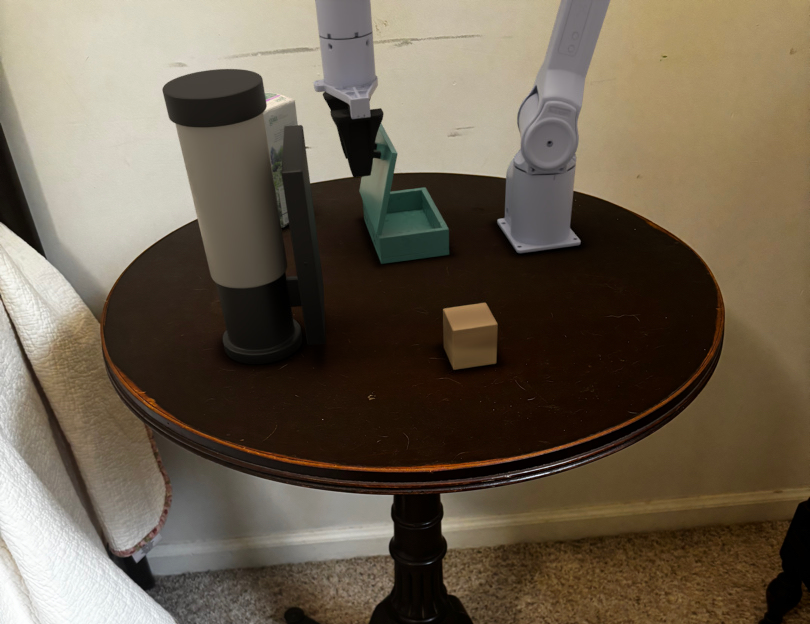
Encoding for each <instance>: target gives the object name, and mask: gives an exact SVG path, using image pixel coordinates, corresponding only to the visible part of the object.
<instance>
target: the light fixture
mask: <svg viewBox="0 0 810 624" xmlns="http://www.w3.org/2000/svg"><path fill="white" fill-rule="evenodd" d="M265 92H266V91H265V85H264V78H263V76H262V75H261V74H260V73H258V72H256V71H253V70H247V69H242V68H220V69H219V68H218V69H209V70H202V71H196V72H192V73H187V74H184V75H180V76H178V77H176V78H173V79H171V80H169V81H168V82H166V83H164V85H163V87H162V95H163V99H164V104H165V107H166V112H167V115H168V120H169V121H170V122H172V123H174V124H175V129H176V132H177V136H178V141H179V145H180V150H181V155H182V158H183V162H184V167H185V171H186V175H187V179H188V184H189V189H190V192H191V197H192V201H193V205H194V211H195V214H196V218H197V222H198V227H199V231H200V234H201V240H202V244H203V248H204V253H205V257H206V261H207V265H208V270H209V274H210V277H211V279H212V280H213V282H215V286H216V290H217V294H218V299H219V303H220V307H221V312H222V316H223V320H224V325H225V329H226V330H225V331H224V332H223V334H222V344H223V348H224V352H225V353H226V355H227V356H228V357H229V358H230V359H232V360H233V361H235V362H238V363H242V364H245V365H246V364H247V365H266V364H272V363H276V362H279V361H281V360H284V359H286V358H288V357H290V356H292V355H293V354H295V353H296V352H297V351H298V350H299V349H300V348H301V345H302V343H303V334H302V333H303V332H302V327H301V325H300V323H299V322H298V321H297V320H295V319H294V317H293V310H292V309H293V308H297V307H298V308H299V307H301V310H302V311H301V312H302V317H303V324H304V331H305V337H306V343H307V346H317V345H325V344H326V342H327V340H326V315H325V313H326V312H325V287H324V286H325V285H324V279H323V271H322V262H321V257H320V248H319V241H318V240H319V239H318V233H317V225H316V217H315V210H314V209H315V208H314V202H313V193H312V186H311V178H310V177H311V176H310V169H309V162H308V155H307V147H306V140H305V132H304V127H303V125H302V124H298V125H295V126H285V127H284V137H283V155H282V173H281V175H282V181H283V188H284V194H285V201H286V207H287V214H288V220H289V225H288V227H289V233H290V240H291V246H292V252H293V259H294V265H295V271H296V275H291V276H287V273H286V271H287V269H288V260H287V254H286V248H285V241H284V240H285V239H284V235H283V228H281V222H280V216H279V209H278V203H277V197H276V191H275V184H274V178H273V172H272V166H271V159H270V153H269V147H268V141H267V135H266V128H265V122H264V116H263V112H264V111H265V109H266V107H267V104H266V98H265Z"/></svg>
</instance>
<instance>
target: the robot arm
mask: <svg viewBox="0 0 810 624" xmlns="http://www.w3.org/2000/svg"><path fill="white" fill-rule="evenodd" d="M610 2H611V0H560V3H559V5H558V9H557V12H556V13H557V14H556V16H555V20H554V24H553V27H552V31H551V35H550V38H549V41H548V44H547V48H546V52H545V56H544V59H543V61H542V64H541V65H540V67H539V69H538V71H537V73H536V76H535V80H534V83H533V86H532V88H531V89H530V91H529V93H528V94H527V95H526V96H525V97H524V98H523V100H522V102H521V103H520V105H519V107H518V111H517V113H516V114H517V115H516V123H517V129H518V132H519V136H520V148H519V149H518V151H517V152H516V153H515V155H514V156H513V158H511V160H510V162H509V164H508V167H507V169H506V174H505V201H504V217H503V218H498V219H497V221H496V223H497V225H498V226H499V228H500V229H501V231H502V233H503V234H504V235H505V237H506V238H507V240H508V241H509V243H510V244H511V246H512V248H513V249H514V250H515V251H516V253H518V254H525V253H534V252H540V251H541V252H542V251H548V250H557V249H564V248H569V247H578V246H580V245H581V242H582V241H581V239H580V238H579V237H578V236H577V234H575V232H574V231H573V230H572V228H571V219H572V210H573V200H574V198H573V197H574V189H575V178H576V170H577V169H576V168H577V167H576V166H577V155H576V153H577V151H578V148H579V142H580V134H579V128H578V127H579V126H578V121H579V117H580V113H581V110H582V107H583V100H584V93H585V92H584V91H585V84H586V78H587V76H588V72H589V68H590V65H591V62H592V59H593V56H594V53H595V49H596V47H597V43H598V40H599V38H600V34H601V32H602V31H601V30H602V29H603V24H604V21H605V18H606V16H607V12H608V9H609V6H610ZM314 3H315V4H314V5H315V12H316V21H317V30H318V31H317V32H318V38H319V40H318V41H319V48H320V57H321V66H322V74H323V78H322V79H317V80H314V81H313V82H312V83H313V90H314V91H315V93H322V97H323V99H324V101H325V102H326V104H327V106H328V108H329V111H330V118H331V119H332V121H333V123H334V125H335V127H336V130H337V135H338V138H339V142H340V145H341V146H340V147H341V149H342V153H343V155H344V157H345V159H346V160H347V162H348V167H349V170H350V172H351V175H352V178H362V177H363V176H370V175H371V171H372V164H373V155H374V146H375V140H376V136H377V132H378V129H379V127H380V124H381V123H382V122H383V120H384V110H383V109H382V107H379V108H372V109H371V105H370V103H371V102H370V101H371V98H372V96H373V94H374V93H375V92H376V90H377V88H378V86H379V80H378V79H379V77H378V76H377V75H376V62H375V61H376V60H375V46H374V33H373V19H372V6H371V5H372V4H371V0H314Z"/></svg>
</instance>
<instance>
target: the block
mask: <svg viewBox="0 0 810 624" xmlns="http://www.w3.org/2000/svg"><path fill="white" fill-rule="evenodd" d="M498 324H499V323H498V322H497V321H496V319H495V317H494V315H493V313H492V311H491V310H490V307H489V306H488V304H487V303H486V302H479V303H474V304H466V305H460V306H452V307H446V308H445V307H444V308H443V309H442V327H443V328H442V330H443V331H442V333H443V337H442V338H443V349H444V351H445V354H446V356H447V359H448V360H449V363H450V365H451V368H452V369H453V371H457V370H462V369H469V368H475V367H482V366H489V365H496V364H497V357H498V356H497V355H498V354H497V353H498V328H499V327H498V326H499V325H498Z"/></svg>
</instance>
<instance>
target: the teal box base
mask: <svg viewBox="0 0 810 624" xmlns="http://www.w3.org/2000/svg"><path fill="white" fill-rule="evenodd" d="M361 199H362V198H361ZM362 210H363V211H362V212H363V221H364V223H365V225H366V228H367V231H368V233H369V236H370V238H371V241H372V243H373V247H374V249H375V252H376V254H377V256H378V259H379V262H380V264H381V265H384V264H385V265H386V264H392V263H399V262H405V261H407V262H408V261H413V260H420V259H422V260H423V259H427V258H428V259H429V258H435V257H442V256H449V255H450V229H449V227H448V225H447V223H446V221H445V219H444V218H443V216H442V214H441V212H440V211H439V209H438V207H437V206H436V204H435V202H434V200H433V198H432V197H431V195H430V193H429V191H428V189H427V188H426V187H425V186H423V187H417V188H409V189H402V190H401V189H400V190H393V191H390V195H389V201H388V206H387V211H386V216H385V221H384V226H383V232H382V235H378V234H376V232H375V230H374V227H373V225H372V222H371V220H370V217H369V215H368V212H367V210H366V207H365V205H364V202H363V199H362Z"/></svg>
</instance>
